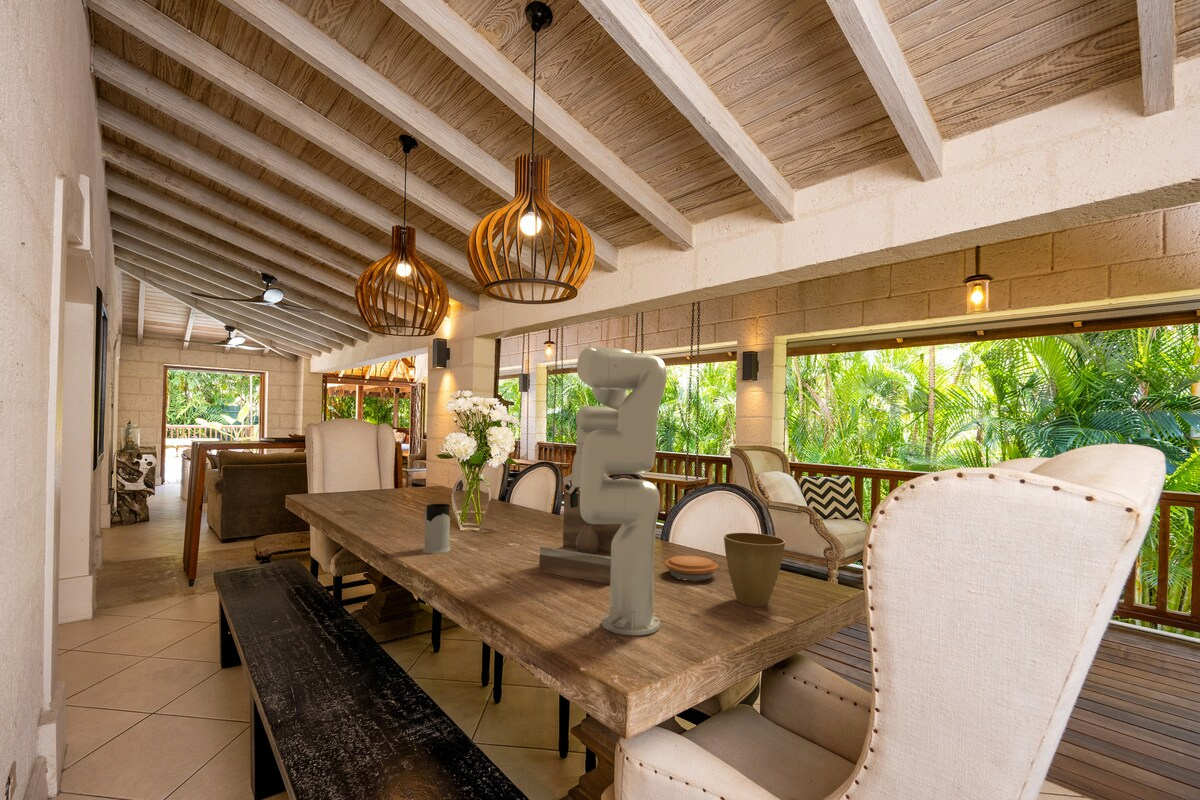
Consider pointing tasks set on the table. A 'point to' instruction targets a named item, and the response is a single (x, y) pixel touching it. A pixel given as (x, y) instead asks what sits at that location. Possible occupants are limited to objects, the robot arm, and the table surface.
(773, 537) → the plant pot
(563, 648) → the table surface
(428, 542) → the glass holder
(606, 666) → the table surface
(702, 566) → the pie
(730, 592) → the table surface
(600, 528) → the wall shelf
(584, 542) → the vase
